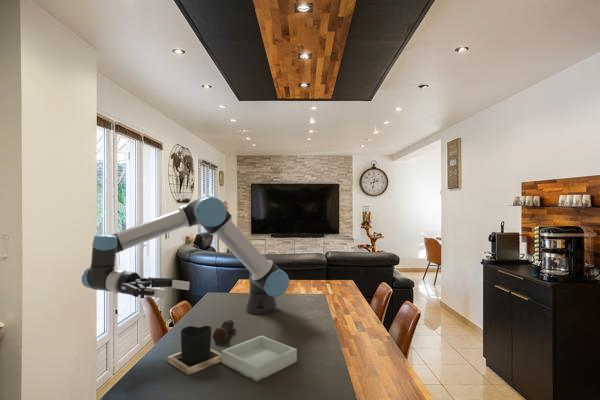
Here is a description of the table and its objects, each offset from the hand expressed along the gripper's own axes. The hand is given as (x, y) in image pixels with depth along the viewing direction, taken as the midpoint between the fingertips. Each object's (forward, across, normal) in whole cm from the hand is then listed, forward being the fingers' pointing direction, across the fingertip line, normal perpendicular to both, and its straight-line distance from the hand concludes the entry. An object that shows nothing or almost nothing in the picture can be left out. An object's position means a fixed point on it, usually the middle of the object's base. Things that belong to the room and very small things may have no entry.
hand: (177, 289), depth 113 cm
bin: (+29, -4, -20) cm, 36 cm away
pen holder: (+9, 0, -22) cm, 24 cm away
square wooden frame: (+9, 0, -22) cm, 23 cm away
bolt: (+8, -22, -21) cm, 32 cm away
